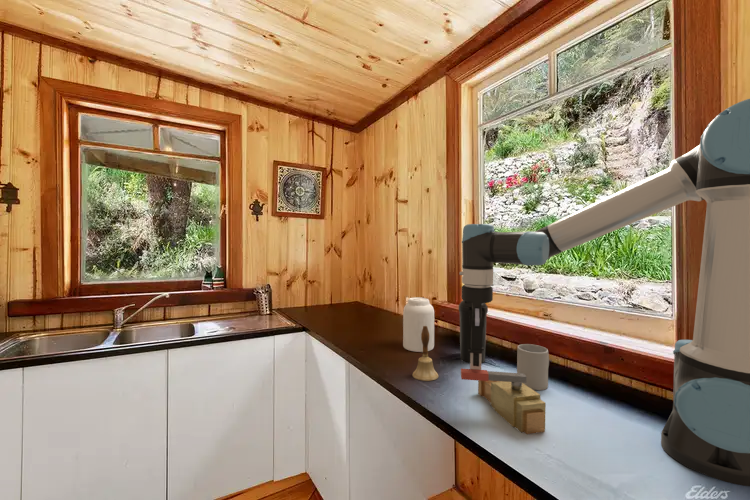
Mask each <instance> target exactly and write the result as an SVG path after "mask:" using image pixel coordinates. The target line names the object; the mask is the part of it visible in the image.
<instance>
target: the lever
mask: <svg viewBox="0 0 750 500" xmlns="http://www.w3.org/2000/svg"><path fill="white" fill-rule="evenodd" d="M460 377H461V380H467V381H488V380H491V381H505V382H511V388H512V389H513V390H515V391H521V390H522V383H526V382H527V377H526V375H525V374H523V373H517V372H506V371H493V370H492V371H491V370H490V371H489V370H487V369H481V370H477V369H470V368H463V367H462V368H460Z"/></svg>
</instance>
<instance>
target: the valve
mask: <svg viewBox="0 0 750 500" xmlns="http://www.w3.org/2000/svg"><path fill="white" fill-rule="evenodd" d="M477 381H478V380H477ZM477 394H478V395H479V396H480V397H483V398H485V400H487V401H488V402H489V403H490V406H491V408H493V410H494V411H495V412H496V413H497V414H498V415H499V416H500V417H501V418H502V419H503V420H504V421H506V422H507V423H508V424H509V425H510V426H511V427H513V428H515V429H517V430H518V431H519V433H525V434H526V435H532V434H538V433H545V432H546V431H545V430H546V409H547V408H546V405H547V404H546V402H545V401H544V400H542V399H541V394H540V393H539V392H537V391H536V390H532V389H531V388H529V387H528V386H526V385H525V384H523V383H522V390H521V391H515V390H513V389H512V388H511V382H505V381H491V380H488V381H478V384H477Z"/></svg>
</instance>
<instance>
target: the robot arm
mask: <svg viewBox="0 0 750 500" xmlns="http://www.w3.org/2000/svg"><path fill="white" fill-rule="evenodd" d="M704 200H705V202H706V209H705V210H706V212H705V218H704V219H705V220H704V228H703V231H704V232H703V238H702V239H703V240H702V249H701V260H700V268H699V270H700V271H699V277H698V286H697V287H698V288H697V297H696V308H695V317H694V324H693V325H694V327H693V336H692V339H679V340H677V341H676V342H675V343H674V350H673V351H672V354H673V356H674V357H673V359H674V361H673V389H672V390H673V394H672V395H673V396H672V397H673V398H672V399H673V401H672V411H671V413H670V415H669V417H668V419H667V421H666V422H665V424H664V426H663V428H662V430H661V436H660V444H661V448H662V449H663V451H665V453H667V454H668V455H669V457H671V458H673V459H674V460H675V461H677V462H678V463H680V464H681V465H683V466H685V467H687V468H688V469H690V470H693V471H695V472H697V473H699V474H702V475H705V476H707V477H709V478H712V479H715V480H717V481H721V482H725V483H729V484H732V485H733V484H734V485H737V486H741V487H742V486H743V487H750V98H747V99H744V100H742V101H739V102H737V103H735V104H732V105H731V106H729V107H727V108H726V109H724V110H723V111H721V112H720V113H719V114H718V115H716V116H715V117H714V118H713V119H712V120H711V121H710V122H709V123H708V124H707V125H706V127H705V129H703V133H702V135H701V136H700V143H699V145H696V147H694V148H693V149H691V150H690V151H688V152H687V153H685V154H683V155H681V156H678V157H677V158H675V159H673V160H671V162H670V163H669V166H668V167H667V168H666V169H664V170H661V171H659V172H657V173H655V174H652V175H651V176H648V177H646V178H644V179H642V180H641V181H638V182H636V183H634V184H631V185H629V186H627V187H625V188H623V189H621V190H619V191H617V192H615V193H613V194H611V195H608V196H606V197H604V198H603V199H600V200H598V201H596V202H593V203H592V204H590V205H588V206H585V207H584V208H581V209H578V210H577V211H575V212H572V213H571V214H568V215H566V216H564V217H562V218H560V219H558V220H556V221H554V222H552V223H549V224H547V225H546V226H544V227H541V228H539V229H537V230H535V231H532V230H529V231H503V232H502V231H501V232H500V231H496V230H495V227H494V225H493V224H492V223H468V224H465V226H463V228H462V238H461V239H462V240H461V244H462V246H461V248H462V249H461V251H462V253H461V254H462V258H461V259H462V262H461V268H462V269H461V271H459V276H462V277H461V283H462V284H463V285H462V286H461V301H463V300H464V301H466V302H472V307H469V322H470V326H471V342H470V343H471V346H470V348H471V349H468V353H470V363H469V369H477V370H482V363H481V360H482V351H484V348H483V347H482V327H484V317H485V307H482V303H486V304H487V303H488V304H489V303H491V302H492V301H493V296H494V293H493V291H494V288H493V286H492V285H493V284H494V264H508V265H509V264H511V265H522V266H523V265H525V266H527V267H528V266H529V267H530V266H542V265H543V266H544V265H545V264H546V263H547V260H550V258H551V257H554V256H556V255H558V254H559V255H560V254H561V253H563V252H566V251H568V250H571V249H573V248H575V247H578V246H581V245H583V244H585V243H587V242H589V241H593V240H595V239H597V238H600V237H602V236H605V235H607V234H610V233H612V232H614V231H617V230H619V229H621V228H625V227H626V226H629V225H631V224H633V223H637V222H638V221H641V220H643V219H645V218H648V217H651V216H655V214H659V213H661V212H663V211H665V210H668V209H670V208H673V207H676V206H677V205H681V204H682V203H685V202H688V201H695V202H702V201H704Z"/></svg>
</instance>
